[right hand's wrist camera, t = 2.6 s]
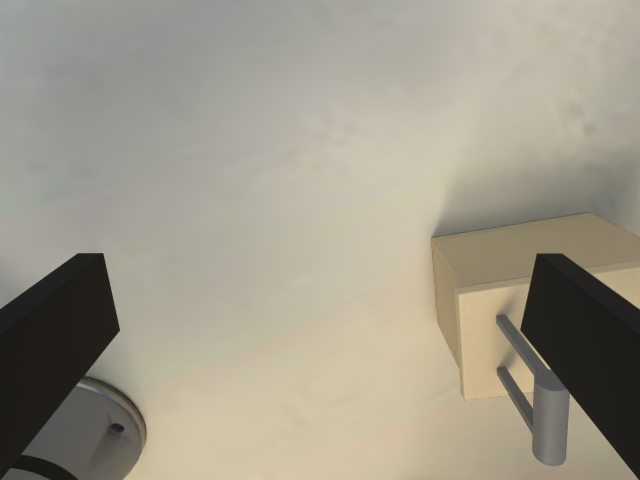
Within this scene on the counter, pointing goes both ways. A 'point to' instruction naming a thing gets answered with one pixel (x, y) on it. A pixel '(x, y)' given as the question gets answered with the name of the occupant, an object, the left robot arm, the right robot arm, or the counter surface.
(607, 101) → the counter surface
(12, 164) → the counter surface
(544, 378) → the lid
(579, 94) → the counter surface
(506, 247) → the chest
